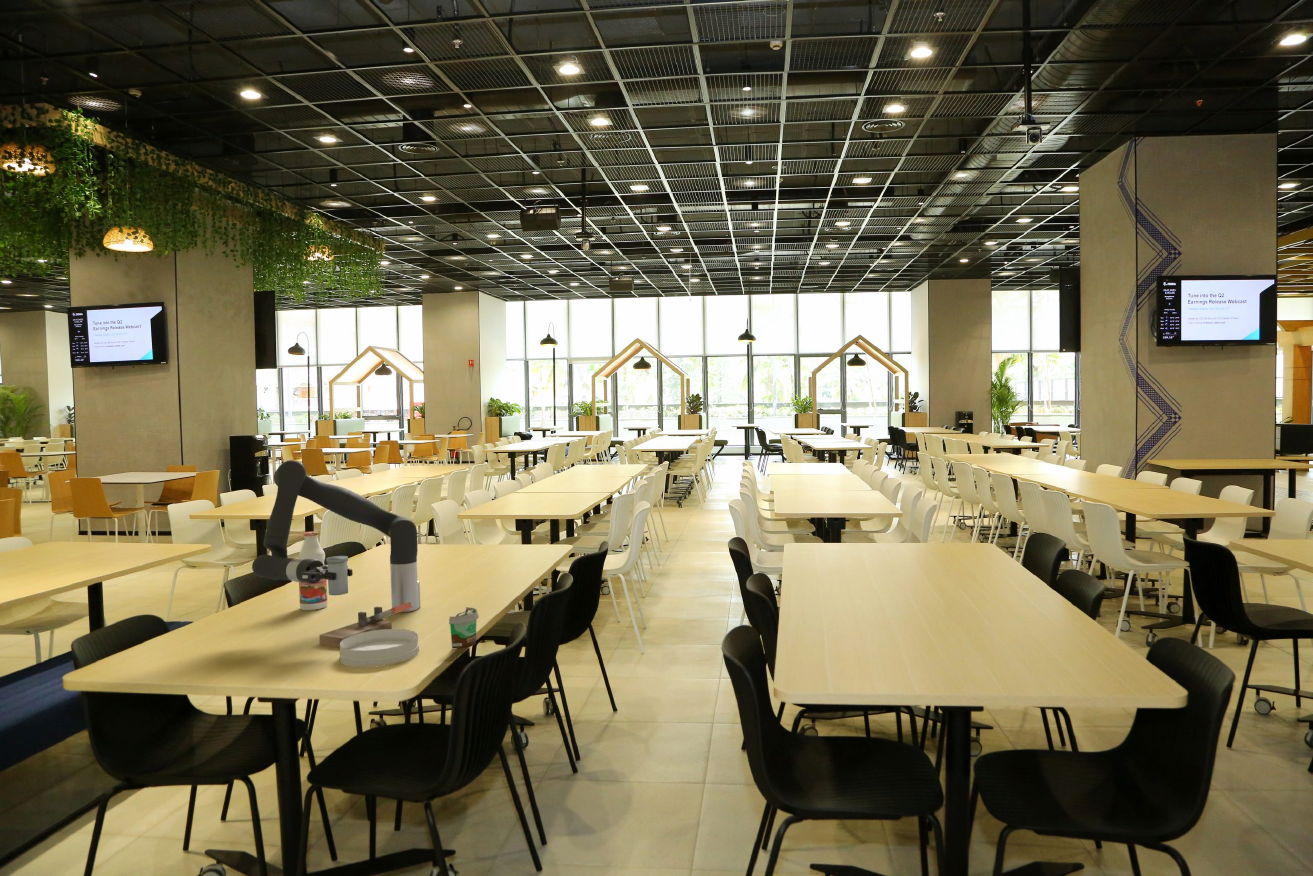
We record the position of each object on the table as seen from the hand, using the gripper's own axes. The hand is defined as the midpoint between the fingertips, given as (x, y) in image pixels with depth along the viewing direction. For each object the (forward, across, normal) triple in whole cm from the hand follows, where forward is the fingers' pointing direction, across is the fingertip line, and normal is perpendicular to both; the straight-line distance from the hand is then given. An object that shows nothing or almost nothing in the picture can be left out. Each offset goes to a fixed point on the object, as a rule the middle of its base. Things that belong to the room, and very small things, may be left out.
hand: (343, 574), depth 244 cm
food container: (+36, +14, +22) cm, 44 cm away
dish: (+18, -4, +22) cm, 29 cm away
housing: (-3, +7, +22) cm, 23 cm away
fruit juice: (-49, +30, +22) cm, 62 cm away
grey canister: (-3, 0, +6) cm, 7 cm away
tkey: (-3, +13, +18) cm, 22 cm away
